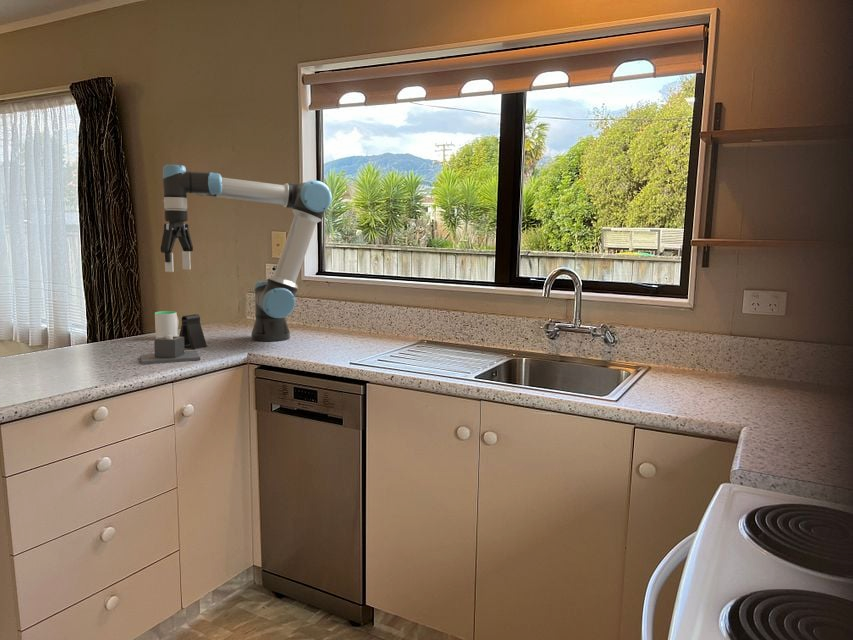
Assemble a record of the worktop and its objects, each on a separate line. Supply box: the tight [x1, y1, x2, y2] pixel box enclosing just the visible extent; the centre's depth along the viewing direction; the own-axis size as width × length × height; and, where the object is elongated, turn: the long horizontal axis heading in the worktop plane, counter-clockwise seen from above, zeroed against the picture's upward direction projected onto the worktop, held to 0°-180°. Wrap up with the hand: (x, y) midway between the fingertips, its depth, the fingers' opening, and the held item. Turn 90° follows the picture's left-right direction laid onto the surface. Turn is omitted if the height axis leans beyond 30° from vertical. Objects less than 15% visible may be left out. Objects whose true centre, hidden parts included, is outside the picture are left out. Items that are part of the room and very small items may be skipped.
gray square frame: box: [153, 335, 185, 358], centre depth 212 cm, size 7×7×6 cm
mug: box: [154, 310, 180, 339], centre depth 252 cm, size 12×8×10 cm, turn 175°
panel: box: [139, 335, 201, 365], centre depth 212 cm, size 18×12×8 cm, turn 116°
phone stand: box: [178, 313, 208, 351], centre depth 233 cm, size 9×6×12 cm, turn 63°
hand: (178, 270), depth 224 cm, fingers open, 13 cm apart
